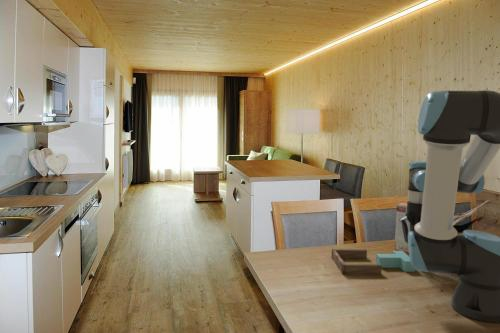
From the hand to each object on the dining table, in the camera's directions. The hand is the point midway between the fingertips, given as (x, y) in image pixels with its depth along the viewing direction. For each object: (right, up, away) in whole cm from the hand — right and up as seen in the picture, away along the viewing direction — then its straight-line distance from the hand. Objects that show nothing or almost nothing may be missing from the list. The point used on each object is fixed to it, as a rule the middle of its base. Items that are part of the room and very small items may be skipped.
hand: (414, 260), depth 151 cm
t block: (-8, -2, 0) cm, 9 cm away
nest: (-23, -2, 0) cm, 23 cm away
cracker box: (+5, -1, +14) cm, 15 cm away
